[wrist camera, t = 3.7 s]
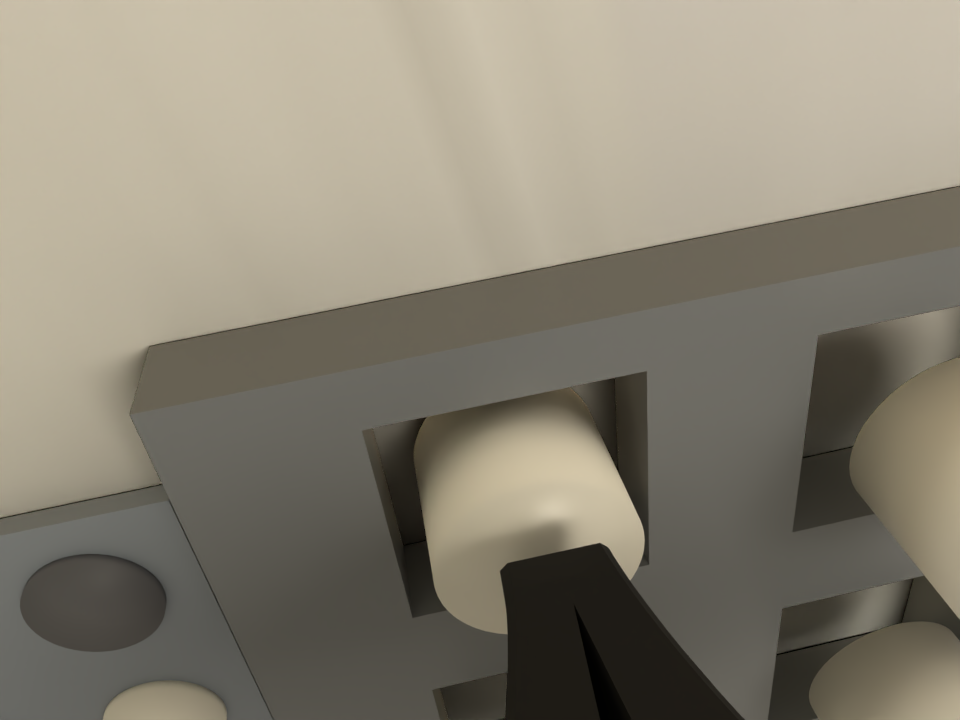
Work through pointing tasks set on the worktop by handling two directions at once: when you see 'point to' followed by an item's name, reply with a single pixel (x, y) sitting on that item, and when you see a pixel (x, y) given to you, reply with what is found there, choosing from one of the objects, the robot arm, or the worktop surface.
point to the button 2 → (516, 496)
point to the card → (114, 619)
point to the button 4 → (917, 473)
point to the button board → (532, 370)
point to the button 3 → (892, 676)
